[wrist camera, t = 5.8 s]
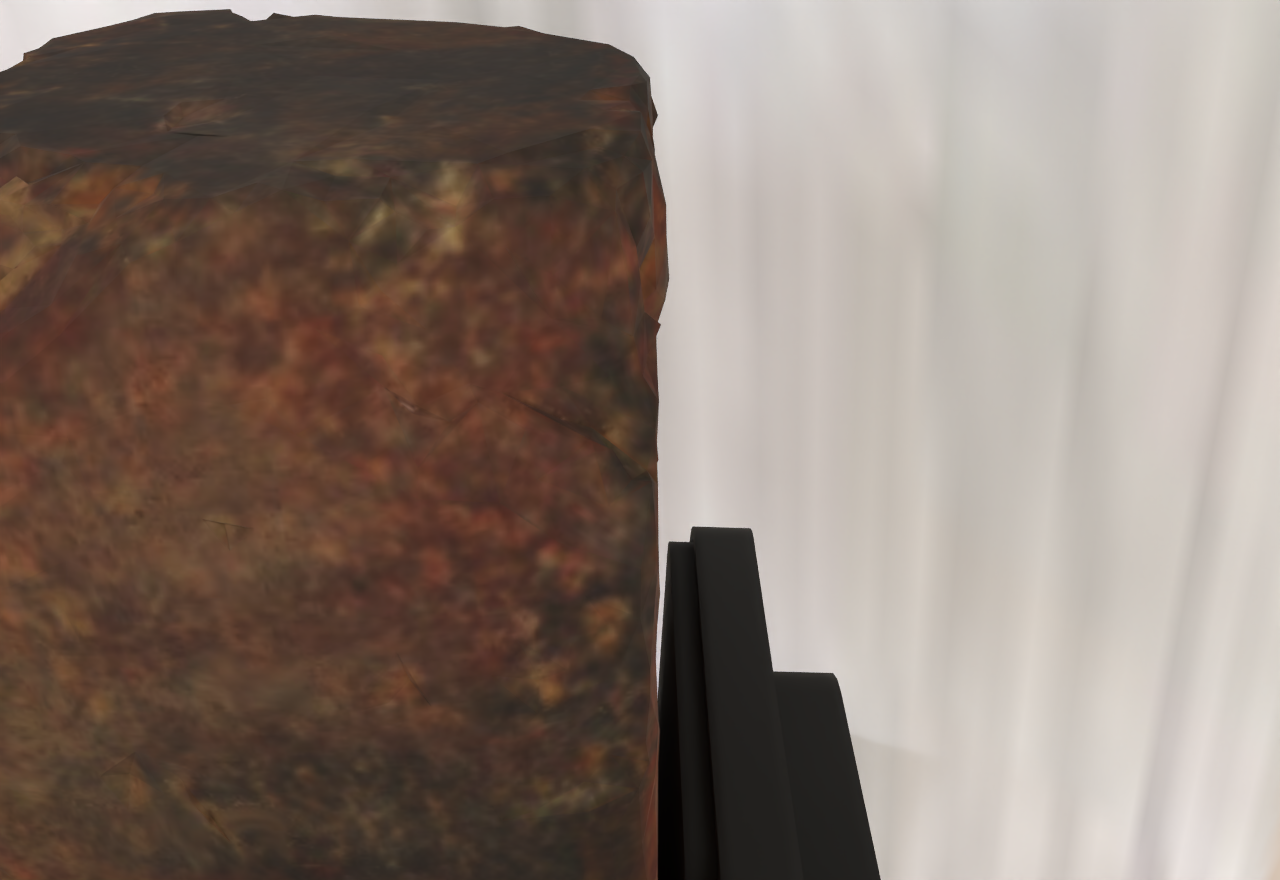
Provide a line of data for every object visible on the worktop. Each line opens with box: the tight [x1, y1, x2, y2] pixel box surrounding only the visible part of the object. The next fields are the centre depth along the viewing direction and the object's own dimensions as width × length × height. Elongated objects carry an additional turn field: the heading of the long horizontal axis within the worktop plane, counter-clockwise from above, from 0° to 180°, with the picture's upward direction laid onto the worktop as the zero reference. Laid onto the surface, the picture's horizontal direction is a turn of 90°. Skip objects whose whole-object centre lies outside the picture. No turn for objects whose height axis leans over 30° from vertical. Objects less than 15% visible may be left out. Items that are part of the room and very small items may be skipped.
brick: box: [0, 9, 669, 880], centre depth 9 cm, size 11×4×5 cm, turn 0°
